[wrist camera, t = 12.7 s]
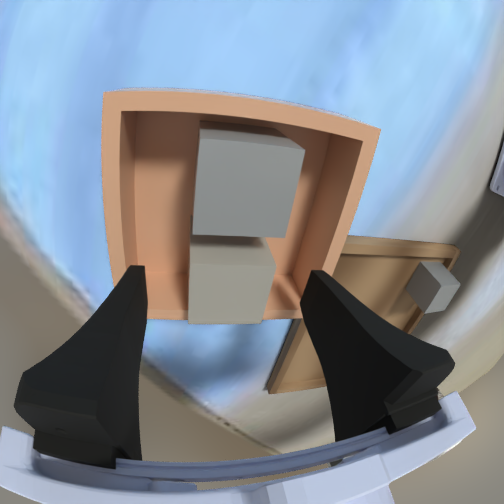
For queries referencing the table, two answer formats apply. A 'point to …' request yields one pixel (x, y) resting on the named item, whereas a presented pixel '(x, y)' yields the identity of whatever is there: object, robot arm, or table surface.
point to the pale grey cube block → (228, 278)
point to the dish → (182, 179)
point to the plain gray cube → (432, 286)
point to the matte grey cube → (244, 180)
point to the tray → (362, 299)
